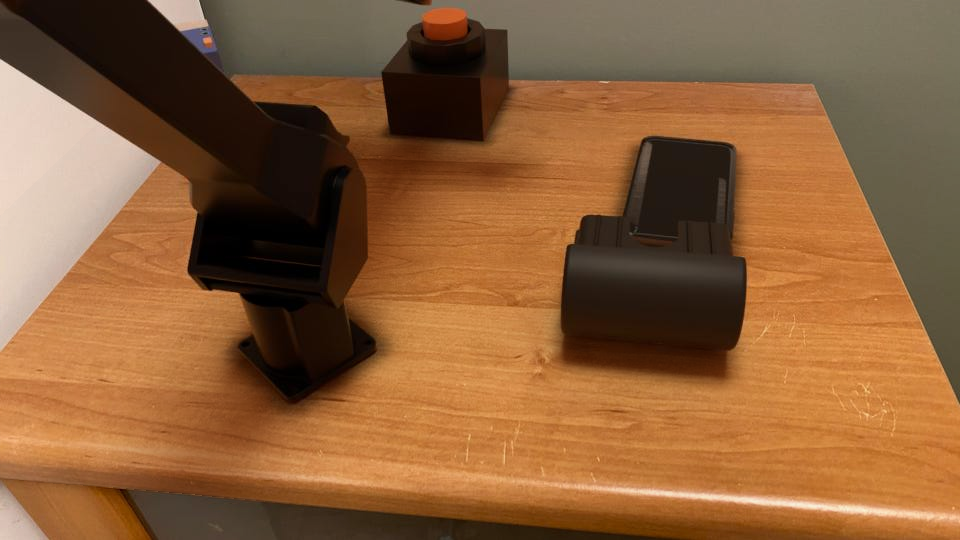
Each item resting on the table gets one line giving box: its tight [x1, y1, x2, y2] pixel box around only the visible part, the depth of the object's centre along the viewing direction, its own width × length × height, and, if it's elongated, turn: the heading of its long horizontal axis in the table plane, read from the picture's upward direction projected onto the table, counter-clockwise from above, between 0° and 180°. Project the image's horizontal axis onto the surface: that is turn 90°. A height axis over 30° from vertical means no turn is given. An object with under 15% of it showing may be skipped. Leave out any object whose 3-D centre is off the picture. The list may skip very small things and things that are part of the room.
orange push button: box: [421, 7, 468, 40], centre depth 66 cm, size 4×4×2 cm
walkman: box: [173, 19, 225, 74], centre depth 61 cm, size 8×3×12 cm, turn 23°
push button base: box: [380, 17, 510, 142], centre depth 68 cm, size 11×9×8 cm
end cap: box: [559, 214, 748, 352], centre depth 44 cm, size 10×7×7 cm
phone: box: [622, 135, 738, 247], centre depth 57 cm, size 8×1×15 cm
